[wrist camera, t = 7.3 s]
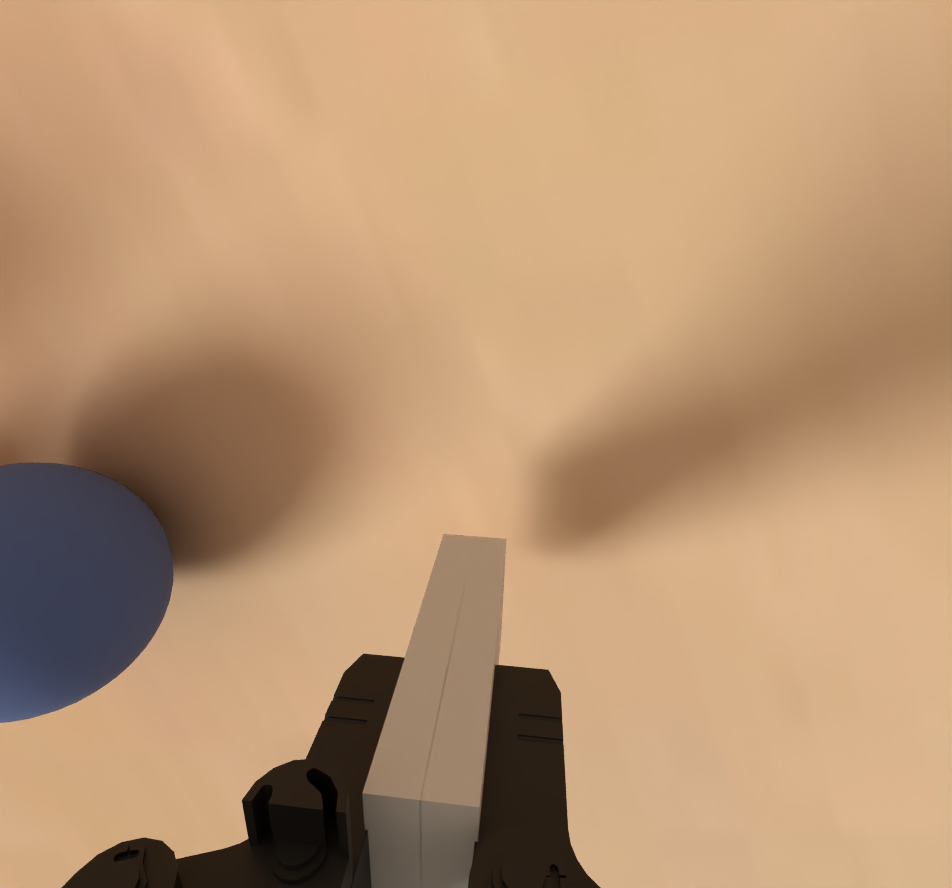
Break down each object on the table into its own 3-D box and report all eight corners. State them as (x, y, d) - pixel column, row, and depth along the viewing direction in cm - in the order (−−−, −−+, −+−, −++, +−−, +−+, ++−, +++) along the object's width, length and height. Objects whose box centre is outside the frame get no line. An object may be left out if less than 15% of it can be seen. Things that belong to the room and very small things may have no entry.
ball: (-129, 462, 14) (136, 402, 15) (-5, 636, 16) (208, 569, 18) (-338, 620, 9) (92, 505, 10) (-108, 833, 11) (200, 714, 13)
